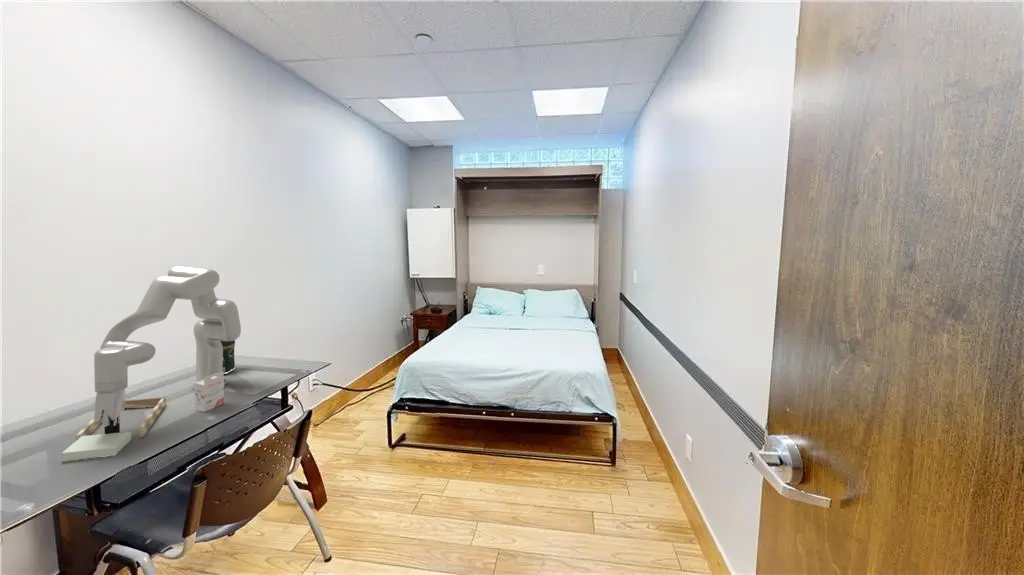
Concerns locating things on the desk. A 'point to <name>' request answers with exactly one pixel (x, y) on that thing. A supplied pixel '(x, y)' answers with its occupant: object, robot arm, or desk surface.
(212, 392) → the ink cartridge box
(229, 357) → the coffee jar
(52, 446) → the desk surface
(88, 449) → the cover plate
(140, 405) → the wooden frame
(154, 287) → the robot arm
